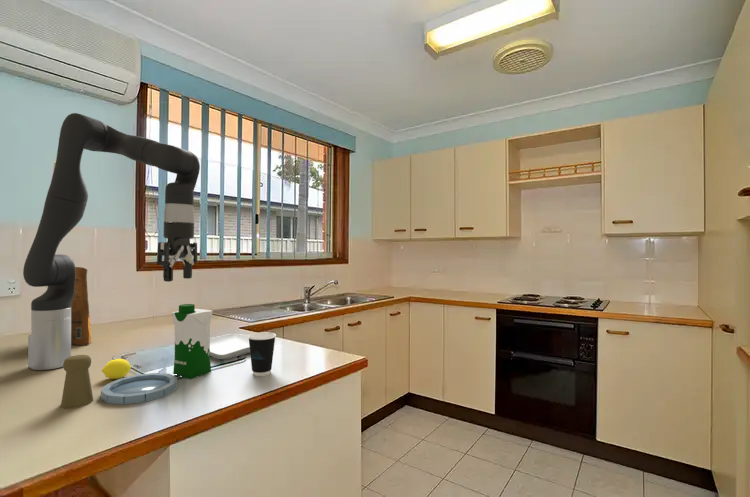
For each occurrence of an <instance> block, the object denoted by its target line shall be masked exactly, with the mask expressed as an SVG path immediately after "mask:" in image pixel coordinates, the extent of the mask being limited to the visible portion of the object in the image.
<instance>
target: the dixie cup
mask: <svg viewBox="0 0 750 497" xmlns="http://www.w3.org/2000/svg"><path fill="white" fill-rule="evenodd" d="M247 336H248V338H249V346H250V353H249V354H250V355H249V356H250V364H251V371H252V375H254V376H257V377H264V376H268V375H269V374H271V370H272V367H273V357H274V351H275V350H274V349H275V344H276V343H275V342H276V337H277V334H276V333H274V332H267V331H266V332H264V331H263V332H254V333H250V334H248V335H247Z"/></svg>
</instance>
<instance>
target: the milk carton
mask: <svg viewBox="0 0 750 497" xmlns="http://www.w3.org/2000/svg"><path fill="white" fill-rule="evenodd" d="M195 306H196V305H195V304H193V303H184V304H180V305H178V310H177V311H172V312H171V316H172V320H173V325H174V359H173V360H174V362H173V373H172V375H173V374H177V375H181V376H182V377H183V378H182V377H181V378H182V379H186V380H187V379H188V380H193V379H195V378H199V377H201V376H204V375H207V374H209V373H212V367H211V357H210V338H211V322H212V318H213V313H214V310H210V309H204V308H203V309H202V308H196V307H195Z"/></svg>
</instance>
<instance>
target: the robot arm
mask: <svg viewBox="0 0 750 497" xmlns="http://www.w3.org/2000/svg"><path fill="white" fill-rule="evenodd" d="M84 150H87V151H90V152H99V153H101V152H102V153H108V154H109V153H110V154H117V155H121V156H125V157H126V158H128V159H130V160H133V161H135V162H138V163H141V164H144V165H147V166H152V167H155V168H158V169H160V170H162V171H165V172H169V173H172V174H176V177H175V180H174V182H173V181H172V182H169V183H167V184H166V185H165V190H164V191H165V193H164V209H163V238H165V239H167V241H160V242H158V243H157V257H156V264H157V265H158V266H161V267H162V268H163V269H162V270H163V271H162V272H163V274H162V275H163V276H162V277H163V282H173V280H174V267H173V266H174V265H175V262H177V261H178V260H181V261H182V264H183V265H182V266H183V270H182V271H183V272H182V274H183V276H182V277H183V279H189V280H190V279H192V277H193V266H194V264H196V263H198V243H197V242H196V241H193V242H192V241H191V240H193V239H194V237H195V210H194V204H195V203H194V197H195V194H194V192H195V188H196V185H197V182H198V179H199V174H200V168H201V167H200V159H199V158H198V156H197V155H196V154H195V153H194V152H193V151H190V150H186V149H183V148H181V147H178V146H175V145H171V144H168V143H163V142H160V141H156V140H155V139H149V138H148V137H143V136H139V135H130V134H127V133H124V132H121V131H119V130H118V129H116V128H113V126H111V125H107V124H106V123H104V122H103V121H101V120H98V119H96V118H93V117H91V116H86V115H84V114H81V113H78V112H73V113H70V114H68V115H67V116H65V119H64V120H63V122H62V124H61V128H60V130H59V137H58V146H57V152H56V158H55V159H56V161H55V165H54V169H53V173H52V175H51V176H52V177H51V181H50V184H49V187H48V190H47V194H46V198H45V201H44V205H43V211H42V214H41V217H40V221H39V224H38V227H37V230H36V234H35V236H34V239H33V241H32V244H31V246H30V249H29V251H28V253H27V256H26V259H25V261H24V265H23V269H22V270H23V271H22V272H23V273H22V275H23V279H24V281H25V283H26V284H27V285H28V286H30V287H33V288H34V287H35V288H37V287H39V288H41V287H43V288H44V287H47V289H46V290H45V292H43V293H42V294H41V295H39V296H38V297H35V298H33V299H32V301H31V303H30V309H31V310H30V318H31V319H30V320H31V321H30V323H31V325H30V330H31V331H30V334H28V337H27V346H28V347H27V349H28V350H27V355H28V356H27V360H28V361H27V368H29V369H31V370H34V371H47V370H53V369H59V368H63V363H64V361H65V359H67V358H68V357H71V356H72V343H71V302H72V300H73V297H74V291H75V277H76V269H75V267H76V265H75V263H74V260H73V259H72V257H70V256H69V255H67V254H56V252H57V250H58V247H59V245H60V243H61V242H62V241H63V239H64V238H65V237H66V236H67V235H68V234H69V233H70V232H71V231H72V230H73V229H74V228H75V227H76V226H77V225H78V224H79V222H80V221H82V219H83V217H84V214H85V211H86V207H87V203H88V198H89V194H88V189H87V184H86V182H85V179H84V177H83V173H82V169H81V162H82V157H83V153H84ZM190 241H191V242H190Z"/></svg>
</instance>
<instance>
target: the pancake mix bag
mask: <svg viewBox="0 0 750 497" xmlns="http://www.w3.org/2000/svg"><path fill="white" fill-rule="evenodd" d="M75 269H76V277H75V291H74V297H73V300H72V302H71V344H73V345H76V346H87V345H90V344H91V343H92V339H93V338H92V328H91V317H90V304H89V295H88V293H89V292H88V269H87V268H85V267H81V266H75Z"/></svg>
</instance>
